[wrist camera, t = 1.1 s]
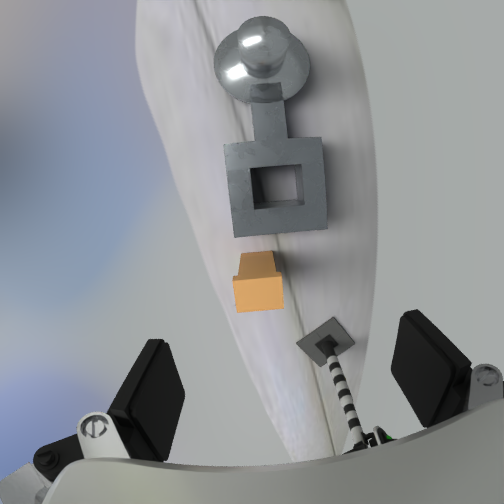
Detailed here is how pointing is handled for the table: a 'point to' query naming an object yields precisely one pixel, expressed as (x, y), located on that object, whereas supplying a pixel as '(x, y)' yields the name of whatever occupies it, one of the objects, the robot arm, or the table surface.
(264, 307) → the tan flared block
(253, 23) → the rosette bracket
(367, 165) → the table surface
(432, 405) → the robot arm
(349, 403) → the miniature traffic light
